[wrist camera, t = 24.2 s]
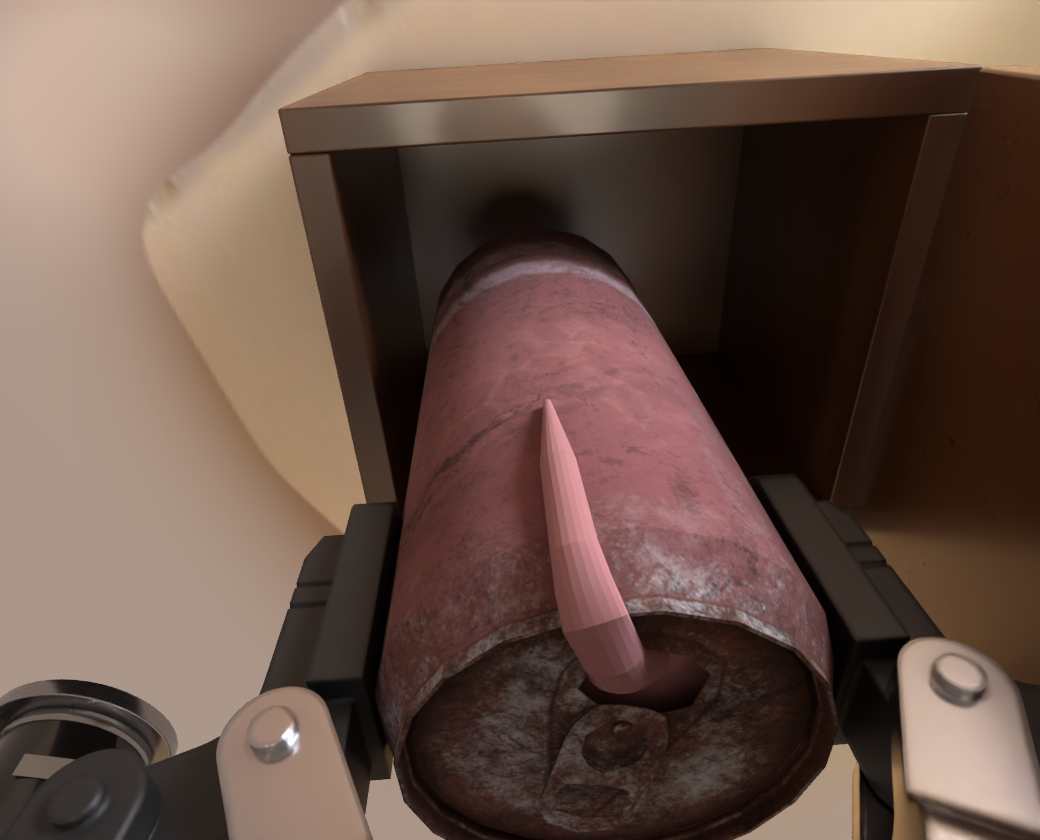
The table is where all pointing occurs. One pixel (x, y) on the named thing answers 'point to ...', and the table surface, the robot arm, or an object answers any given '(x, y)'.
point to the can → (588, 579)
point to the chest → (644, 226)
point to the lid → (972, 394)
